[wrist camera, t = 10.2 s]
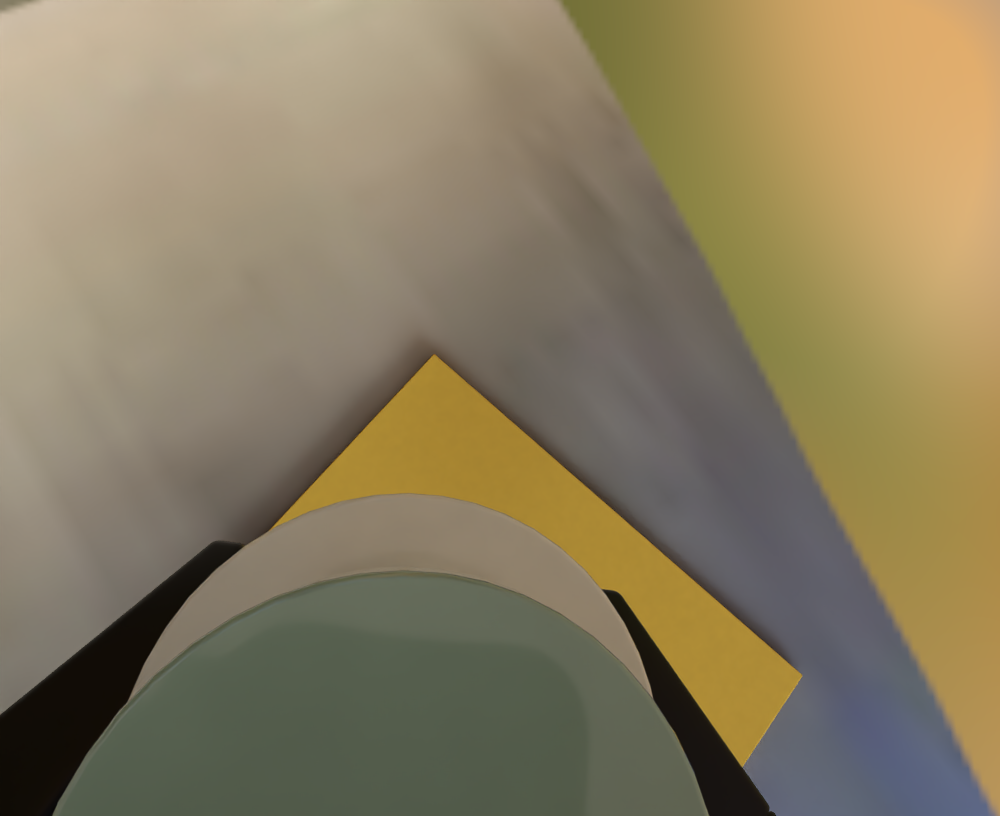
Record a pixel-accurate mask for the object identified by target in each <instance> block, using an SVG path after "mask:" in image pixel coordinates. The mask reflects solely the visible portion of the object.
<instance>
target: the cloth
mask: <svg viewBox="0 0 1000 816" xmlns="http://www.w3.org/2000/svg"><path fill="white" fill-rule="evenodd" d="M402 493H414V494H426V495H439V496H446V497H450V498H455V499H460V500H464V501H469V502H474V503H477V504H479V505H482V506H485V507H488V508H491V509H493V510H496V511H499V512H502V513H505V514H507V515H509V516H510V517H512V518H514V519H516V520H518V521H520V522H522V523H524V524H526V525H528V526H530V527H532V528H534V529H535V530H537V531H538V532H539V533H541V534H542V535H544V536H545V537H547V538H548V539H549V540H551V541H552V542H554V543H555V544H557V545H558V546H560V547H561V548H562V549H563V550H564V551H565V552H566V553H567V554H568V555H570V556H571V557H572V558H573V559H574V560H575V561H576V562H577V563H578V564H579V565H581V566H582V567H583V568H584V569H585V570H586V571H587V573H588V574H589V575H590V576H591V577H592V579H593V580H594V581H595V582H596V583H597V584H598V586H599V587H600V588H601V589H606V590H613V591H617V592H618V593H620V594H621V595H622V597H623V598H624V599H625V601H626V602H627V604H628V605H629V607H630V608H631V609H632V611H633V612H634V614H635V615H636V617H637V618H638V619H639V621H640V622H641V624H642V625H643V627H644V628H645V629H646V631H647V632H648V634H649V635H650V637H651V638H652V639H653V641H654V642H655V644H656V645H657V647H658V648H659V649H660V651H661V652H662V654H663V655H664V657H665V658H666V659H667V661H668V662H669V664H670V665H671V667H672V668H673V669H674V671H675V672H676V674H677V675H678V677H679V678H680V679H681V681H682V682H683V684H684V685H685V687H686V688H687V689H688V691H689V692H690V694H691V695H692V697H693V698H694V699H695V701H696V702H697V704H698V705H699V707H700V708H701V709H702V711H703V712H704V714H705V715H706V717H707V718H708V719H709V721H710V722H711V724H712V725H713V727H714V728H715V729H716V731H717V732H718V734H719V735H720V736H721V738H722V739H723V741H724V742H725V744H726V745H727V746H728V748H729V749H730V751H731V752H732V754H733V755H734V756H735V758H736V759H737V761H738V762H739V764H740V765H741V766H742V767H743V765H744V764H745V762H746V761H747V759H748V758H749V756H750V755H751V753H752V752H753V750H754V749H755V747H756V746H757V744H758V742H759V741H760V739H761V738H762V736H763V735H764V733H765V732H766V730H767V729H768V727H769V726H770V724H771V723H772V721H773V720H774V718H775V717H776V715H777V714H778V712H779V711H780V709H781V708H782V706H783V705H784V703H785V702H786V700H787V698H788V697H789V695H790V694H791V692H792V691H793V689H794V688H795V686H796V685H797V683H798V682H799V680H800V679H801V677H802V674H800V673H799V672H798V671H797V670H796V669H795V668H794V667H792V666H791V665H790V664H789V663H788V662H787V661H786V660H784V659H783V658H782V657H781V656H780V655H779V654H778V653H776V652H775V651H774V650H773V649H772V648H771V647H770V646H768V645H767V644H766V643H765V642H764V641H763V640H762V639H760V638H759V637H758V636H757V635H756V634H755V633H753V632H752V631H751V630H750V629H749V628H748V627H747V626H745V625H744V624H743V623H742V622H741V621H740V620H739V619H737V618H736V617H735V616H734V615H733V614H732V613H731V612H729V611H728V610H727V609H726V608H725V607H724V606H723V605H721V604H720V603H719V602H718V601H717V600H716V599H715V598H713V597H712V596H711V595H710V594H709V593H708V592H707V591H705V590H704V589H703V588H702V587H701V586H700V585H699V584H697V583H696V582H695V581H694V580H693V579H692V578H690V577H689V576H688V575H687V574H686V573H685V572H684V571H682V570H681V569H680V568H679V567H678V566H677V565H676V564H674V563H673V562H672V561H671V560H670V559H669V558H668V557H666V556H665V555H664V554H663V553H662V552H661V551H660V550H658V549H657V548H656V547H655V546H654V545H653V544H652V543H650V542H649V541H648V540H647V539H646V538H645V537H644V536H642V535H641V534H640V533H639V532H638V531H637V530H635V529H634V528H633V527H632V526H631V525H630V524H629V523H627V522H626V521H625V520H624V519H623V518H622V517H621V516H619V515H618V514H617V513H616V512H615V511H614V510H613V509H611V508H610V507H609V506H608V505H607V504H606V503H605V502H603V501H602V500H601V499H600V498H599V497H598V496H597V495H595V494H594V493H593V492H592V491H591V490H590V489H589V488H587V487H586V486H585V485H584V484H583V483H582V482H580V481H579V480H578V479H577V478H576V477H575V476H574V475H572V474H571V473H570V472H569V471H568V470H567V469H566V468H564V467H563V466H562V465H561V464H560V463H559V462H558V461H556V460H555V459H554V458H553V457H552V456H551V455H550V454H548V453H547V452H546V451H545V450H544V449H543V448H542V447H540V446H539V445H538V444H537V443H536V442H535V441H534V440H532V439H531V438H530V437H529V436H528V435H527V434H526V433H524V432H523V431H522V430H521V429H520V428H519V427H517V426H516V425H515V424H514V423H513V422H512V421H511V420H509V419H508V418H507V417H506V416H505V415H504V414H503V413H501V412H500V411H499V410H498V409H497V408H496V407H495V406H493V405H492V404H491V403H490V402H489V401H488V400H487V399H485V398H484V397H483V396H482V395H481V394H480V393H479V392H477V391H476V390H475V389H474V388H473V387H472V386H471V385H469V384H468V383H467V382H466V381H465V380H464V379H462V378H461V377H460V376H459V375H458V374H457V373H456V372H454V371H453V370H452V369H451V368H450V367H449V366H448V365H446V364H445V363H444V362H443V361H442V360H441V359H440V358H438V357H437V356H436V355H435V354H433V355H432V357H431V358H430V359H429V360H428V361H427V362H426V363H425V364H424V365H423V366H422V367H421V368H420V369H419V370H418V371H417V373H416V374H415V375H414V376H413V377H412V378H411V379H410V380H409V381H408V382H407V383H406V384H405V385H404V386H403V388H402V389H401V390H400V391H399V392H398V393H397V394H396V395H395V396H394V397H393V398H392V399H391V400H390V401H389V403H388V404H387V405H386V406H385V407H384V408H383V409H382V410H381V411H380V412H379V413H378V414H377V415H376V416H375V417H374V419H373V420H372V421H371V422H370V423H369V424H368V425H367V426H366V427H365V428H364V429H363V430H362V431H361V432H360V434H359V435H358V436H357V437H356V438H355V439H354V440H353V441H352V442H351V443H350V444H349V445H348V446H347V447H346V449H345V450H344V451H343V452H342V453H341V454H340V455H339V456H338V457H337V458H336V459H335V460H334V461H333V462H332V464H331V465H330V466H329V467H328V468H327V469H326V470H325V471H324V472H323V473H322V474H321V475H320V476H319V477H318V478H317V480H316V481H315V482H314V483H313V484H312V485H311V486H310V487H309V488H308V489H307V490H306V491H305V492H304V493H303V495H302V496H301V497H300V498H299V499H298V500H297V501H296V502H295V503H294V504H293V505H292V506H291V507H290V508H289V510H288V511H287V512H286V513H285V514H284V515H283V516H282V517H281V518H280V519H279V520H278V521H277V522H276V523H275V524H274V526H273V527H272V528H271V529H273V528H275V527H276V526H279V525H281V524H283V523H285V522H287V521H289V520H292V519H294V518H296V517H298V516H300V515H302V514H305V513H307V512H309V511H312V510H315V509H318V508H322V507H325V506H328V505H331V504H334V503H337V502H340V501H345V500H350V499H356V498H361V497H367V496H372V495H383V494H402ZM271 529H270V530H271ZM270 530H269V531H270Z"/></svg>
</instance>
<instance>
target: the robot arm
mask: <svg viewBox="0 0 1000 816" xmlns="http://www.w3.org/2000/svg"><path fill="white" fill-rule="evenodd" d="M243 547H244V545H243V544H241V543H235V542H227V541H215V542H212V543H211V544H209V545H208V546H207V547H206V548H205V549H203V550H202V551H201V552H200V553H198V554H197V555H196V556H195V557H193V558H192V559H191V560H190V561H189V562H187V563H186V564H185V565H184V566H182V567H181V568H180V569H179V570H178V571H176V572H175V573H174V574H173V575H171V576H170V577H169V578H168V579H166V580H165V581H164V582H163V583H162V584H160V585H159V586H158V587H157V588H155V589H154V590H153V591H152V592H151V593H149V594H148V595H147V596H146V597H144V598H143V599H142V600H141V601H139V602H138V603H137V604H136V605H135V606H133V607H132V608H131V609H130V610H128V611H127V612H126V613H125V614H124V615H122V616H121V617H120V618H119V619H117V620H116V621H115V622H114V623H112V624H111V625H110V626H109V627H108V628H106V629H105V630H104V631H103V632H101V633H100V634H99V635H98V636H97V637H95V638H94V639H93V640H92V641H90V642H89V643H88V644H87V645H85V646H84V647H83V648H82V649H81V650H79V651H78V652H77V653H76V654H74V655H73V656H72V657H71V658H70V659H68V660H67V661H66V662H65V663H63V664H62V665H61V666H60V667H58V668H57V669H56V670H55V671H54V672H52V673H51V674H50V675H49V676H47V677H46V678H45V679H44V680H43V681H41V682H40V683H39V684H38V685H36V686H35V687H34V688H33V689H31V690H30V691H29V692H28V693H27V694H25V695H24V696H23V697H22V698H20V699H19V700H18V701H17V702H16V703H14V704H13V705H12V706H11V707H9V708H8V709H7V710H6V711H4V712H3V713H2V714H1V715H0V816H52V814H53V812H54V810H55V808H56V805H57V803H58V801H59V799H60V797H61V796H62V794H63V792H64V791H65V789H66V787H67V786H68V784H69V782H70V781H71V779H72V777H73V775H74V774H75V772H76V770H77V769H78V767H79V765H80V764H81V762H82V760H83V759H84V757H85V755H86V754H87V752H88V751H89V750H90V748H91V747H92V746H93V744H94V743H95V742H96V740H97V739H98V738H99V736H100V735H101V734H102V733H103V731H104V730H105V729H106V727H107V726H108V725H109V723H110V722H111V721H112V719H113V718H114V717H115V715H116V714H117V713H118V712H119V710H120V709H121V708H122V707H123V706H124V705H125V704H126V703H127V702H128V699H129V697H130V694H131V692H132V690H133V688H134V685H135V683H136V681H137V679H138V676H139V674H140V672H141V670H142V667H143V665H144V663H145V661H146V659H147V658H148V656H149V654H150V652H151V651H152V649H153V647H154V646H155V644H156V642H157V641H158V639H159V637H160V636H161V634H162V632H163V631H164V629H165V627H166V626H167V625H168V623H169V622H170V621H171V620H172V618H173V617H174V616H175V614H176V613H177V612H178V610H179V609H180V608H181V607H182V605H183V604H184V603H185V601H186V600H187V599H188V597H189V596H190V595H191V594H192V593H193V592H194V591H195V590H196V589H197V588H198V587H199V586H200V585H201V584H202V583H203V582H204V581H205V580H206V579H207V578H208V577H209V576H210V575H211V574H212V573H213V572H214V571H215V570H216V569H217V568H218V567H219V566H221V565H222V564H223V563H224V562H226V561H227V560H228V559H229V558H231V557H232V556H233V555H234V554H236V553H237V552H238V551H239V550H241V549H242V548H243ZM602 590H603V591H604V593H605V594H606V595H607V597H608V598H609V600H610V601H611V603H612V604H613V606H614V608H615V609H616V611H617V612H618V614H619V615H620V617H621V618H622V620H623V621H624V623H625V625H626V627H627V629H628V631H629V633H630V635H631V637H632V639H633V641H634V644H635V646H636V648H637V650H638V652H639V654H640V657H641V660H642V663H643V666H644V669H645V671H646V674H647V677H648V680H649V683H650V686H651V690H652V695H653V700H654V701H655V703H656V704H657V706H658V707H659V709H660V710H661V712H662V713H663V715H664V717H665V718H666V720H667V721H668V723H669V724H670V726H671V727H672V729H673V730H674V732H675V734H676V736H677V738H678V740H679V742H680V744H681V746H682V748H683V750H684V752H685V754H686V756H687V758H688V760H689V762H690V765H691V767H692V769H693V771H694V773H695V776H696V779H697V782H698V784H699V787H700V790H701V793H702V796H703V799H704V802H705V805H706V807H707V810H708V813H709V816H776V815H775V813H774V812H772V811H770V812H769V805H768V804H767V802H766V801H765V799H764V798H763V796H762V795H761V794H760V792H759V791H758V789H757V788H756V786H755V785H754V784H753V782H752V781H751V779H750V778H749V776H748V775H747V774H746V772H745V771H744V769H743V768H742V766H741V765H740V764H739V762H738V761H737V759H736V758H735V756H734V755H733V754H732V752H731V751H730V749H729V748H728V746H727V745H726V744H725V742H724V741H723V739H722V738H721V736H720V735H719V734H718V732H717V731H716V729H715V728H714V727H713V725H712V724H711V722H710V721H709V719H708V718H707V717H706V715H705V714H704V712H703V711H702V709H701V708H700V707H699V705H698V704H697V702H696V701H695V699H694V698H693V697H692V695H691V694H690V692H689V691H688V689H687V688H686V687H685V685H684V684H683V682H682V681H681V679H680V678H679V677H678V675H677V674H676V672H675V671H674V669H673V668H672V667H671V665H670V664H669V662H668V661H667V659H666V658H665V657H664V655H663V654H662V652H661V651H660V649H659V648H658V647H657V645H656V644H655V642H654V641H653V639H652V638H651V637H650V635H649V634H648V632H647V631H646V629H645V628H644V627H643V625H642V624H641V622H640V621H639V619H638V618H637V617H636V615H635V614H634V612H633V611H632V609H631V608H630V607H629V605H628V604H627V602H626V601H625V599H624V598H623V597H622V595H621V594H620V593H618V592H617V591H613V590H606V589H602Z"/></svg>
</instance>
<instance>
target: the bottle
mask: <svg viewBox="0 0 1000 816" xmlns="http://www.w3.org/2000/svg"><path fill="white" fill-rule="evenodd" d="M52 816H709V813H708V810H707V807H706V805H705V802H704V799H703V796H702V793H701V790H700V787H699V784H698V782H697V779H696V776H695V773H694V771H693V769H692V767H691V765H690V762H689V760H688V758H687V756H686V754H685V752H684V750H683V748H682V746H681V744H680V742H679V740H678V738H677V736H676V734H675V732H674V730H673V729H672V727H671V726H670V724H669V723H668V721H667V720H666V718H665V717H664V715H663V713H662V712H661V710H660V709H659V707H658V706H657V704H656V703H655V701H654V700H653V695H652V690H651V686H650V683H649V680H648V677H647V674H646V671H645V669H644V666H643V663H642V660H641V657H640V654H639V652H638V650H637V648H636V646H635V644H634V641H633V639H632V637H631V635H630V633H629V631H628V629H627V627H626V625H625V623H624V621H623V620H622V618H621V617H620V615H619V614H618V612H617V611H616V609H615V608H614V606H613V604H612V603H611V601H610V600H609V598H608V597H607V595H606V594H605V593H604V591H603V590H602V589H601V588H600V587H599V586H598V584H597V583H596V582H595V581H594V580H593V579H592V577H591V576H590V575H589V574H588V573H587V571H586V570H585V569H584V568H583V567H582V566H581V565H579V564H578V563H577V562H576V561H575V560H574V559H573V558H572V557H571V556H570V555H568V554H567V553H566V552H565V551H564V550H563V549H562V548H561V547H560V546H558V545H557V544H555V543H554V542H552V541H551V540H549V539H548V538H547V537H545V536H544V535H542V534H541V533H539V532H538V531H537V530H535V529H534V528H532V527H530V526H528V525H526V524H524V523H522V522H520V521H518V520H516V519H514V518H512V517H510V516H509V515H507V514H505V513H502V512H499V511H496V510H493V509H491V508H488V507H485V506H482V505H479V504H477V503H474V502H469V501H464V500H460V499H455V498H450V497H446V496H439V495H426V494H414V493H402V494H383V495H372V496H367V497H361V498H356V499H350V500H345V501H340V502H337V503H334V504H331V505H328V506H325V507H322V508H318V509H315V510H312V511H309V512H307V513H305V514H302V515H300V516H298V517H296V518H294V519H292V520H289V521H287V522H285V523H283V524H281V525H279V526H276V527H275V528H273V529H271V530H270V531H268V532H267V533H265V534H263V535H262V536H260V537H259V538H257V539H255V540H254V541H252V542H251V543H249V544H247V545H246V546H244V547H243V548H242V549H241V550H239V551H238V552H237V553H236V554H234V555H233V556H232V557H231V558H229V559H228V560H227V561H226V562H224V563H223V564H222V565H221V566H219V567H218V568H217V569H216V570H215V571H214V572H213V573H212V574H211V575H210V576H209V577H208V578H207V579H206V580H205V581H204V582H203V583H202V584H201V585H200V586H199V587H198V588H197V589H196V590H195V591H194V592H193V593H192V594H191V595H190V596H189V597H188V599H187V600H186V601H185V603H184V604H183V605H182V607H181V608H180V609H179V610H178V612H177V613H176V614H175V616H174V617H173V618H172V620H171V621H170V622H169V623H168V625H167V626H166V627H165V629H164V631H163V632H162V634H161V636H160V637H159V639H158V641H157V642H156V644H155V646H154V647H153V649H152V651H151V652H150V654H149V656H148V658H147V659H146V661H145V663H144V665H143V667H142V670H141V672H140V674H139V676H138V679H137V681H136V683H135V685H134V688H133V690H132V692H131V694H130V697H129V699H128V702H127V703H126V704H125V705H124V706H123V707H122V708H121V709H120V710H119V712H118V713H117V714H116V715H115V717H114V718H113V719H112V721H111V722H110V723H109V725H108V726H107V727H106V729H105V730H104V731H103V733H102V734H101V735H100V736H99V738H98V739H97V740H96V742H95V743H94V744H93V746H92V747H91V748H90V750H89V751H88V752H87V754H86V755H85V757H84V759H83V760H82V762H81V764H80V765H79V767H78V769H77V770H76V772H75V774H74V775H73V777H72V779H71V781H70V782H69V784H68V786H67V787H66V789H65V791H64V792H63V794H62V796H61V797H60V799H59V801H58V803H57V805H56V808H55V810H54V812H53V814H52Z"/></svg>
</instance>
